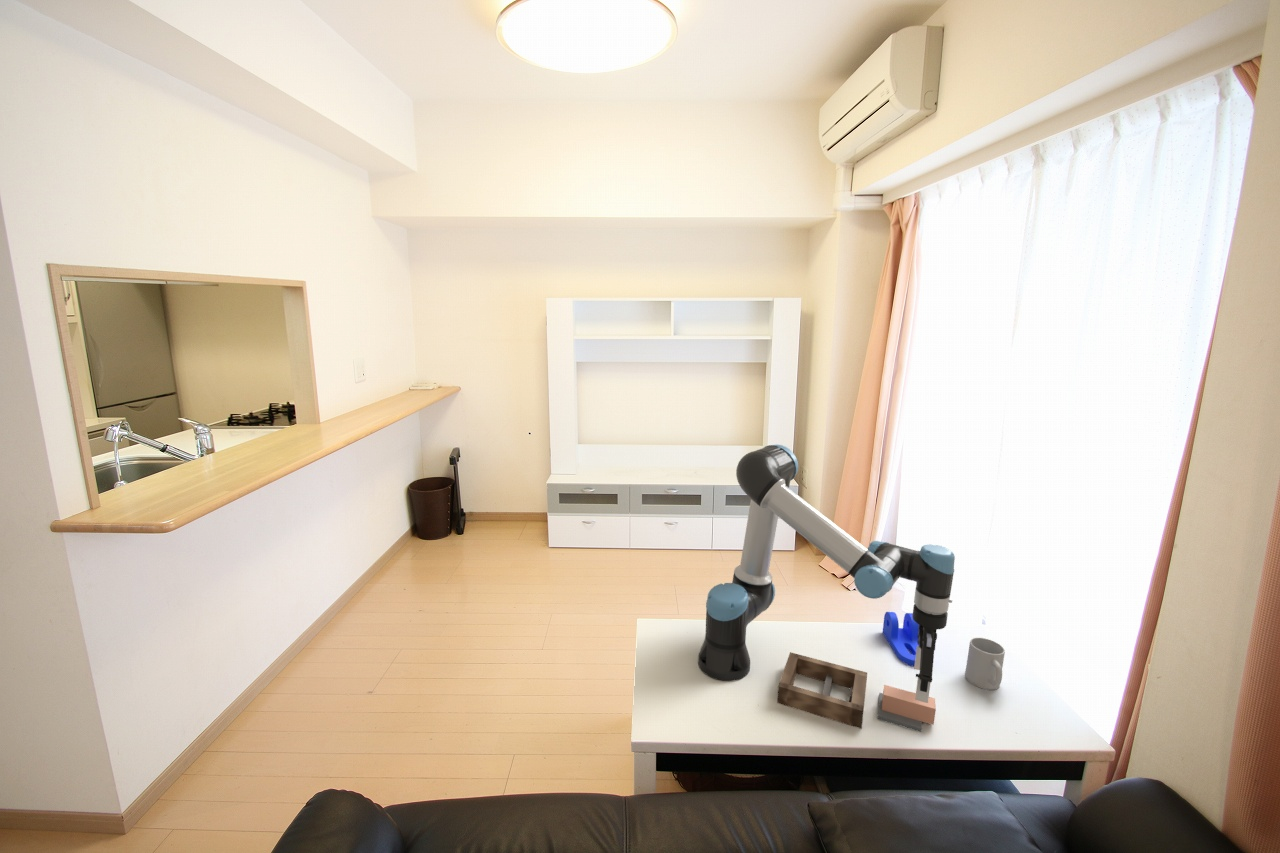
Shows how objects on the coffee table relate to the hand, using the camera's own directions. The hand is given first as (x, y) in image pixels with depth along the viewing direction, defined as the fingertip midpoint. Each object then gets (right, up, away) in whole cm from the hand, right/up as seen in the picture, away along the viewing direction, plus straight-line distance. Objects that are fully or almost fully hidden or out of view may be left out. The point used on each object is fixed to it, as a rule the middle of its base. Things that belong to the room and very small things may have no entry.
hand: (920, 684), depth 140 cm
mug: (+26, -8, +16) cm, 32 cm away
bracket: (+12, -4, +32) cm, 34 cm away
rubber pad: (-4, -9, +3) cm, 10 cm away
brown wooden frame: (-21, -8, +9) cm, 25 cm away
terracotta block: (-2, -8, +3) cm, 9 cm away
